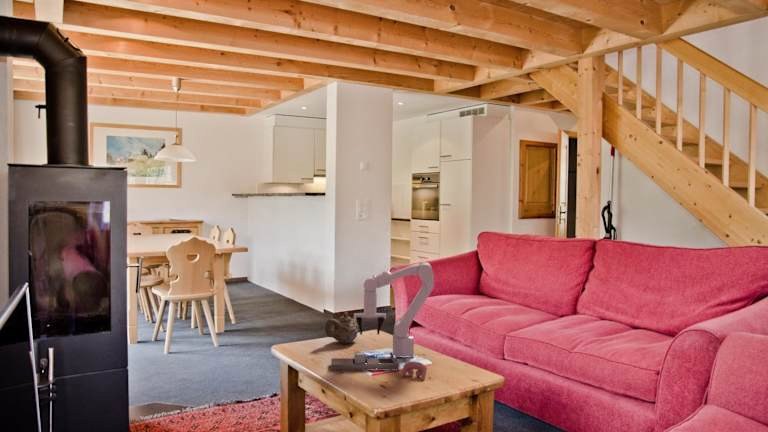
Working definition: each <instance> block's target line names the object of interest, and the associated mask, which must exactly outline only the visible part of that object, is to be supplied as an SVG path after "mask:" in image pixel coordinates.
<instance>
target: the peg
mask: <svg viewBox="0 0 768 432" xmlns="http://www.w3.org/2000/svg"><path fill="white" fill-rule="evenodd" d="M353 358H354V364H365V359H366V353H365V352H364V351H354V357H353Z"/></svg>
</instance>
